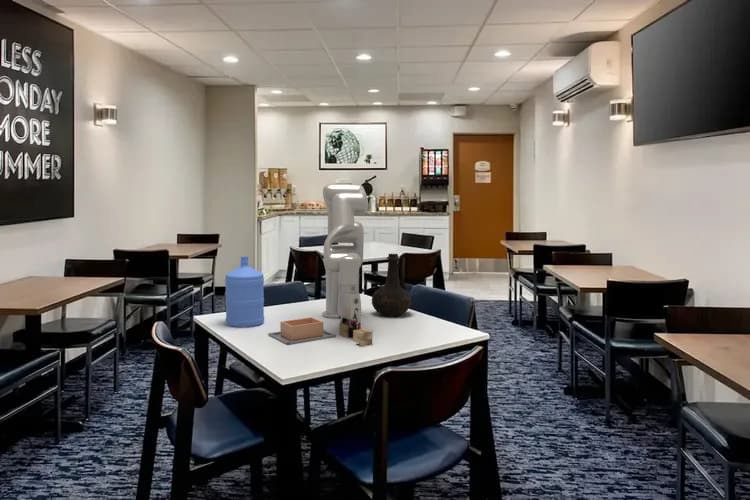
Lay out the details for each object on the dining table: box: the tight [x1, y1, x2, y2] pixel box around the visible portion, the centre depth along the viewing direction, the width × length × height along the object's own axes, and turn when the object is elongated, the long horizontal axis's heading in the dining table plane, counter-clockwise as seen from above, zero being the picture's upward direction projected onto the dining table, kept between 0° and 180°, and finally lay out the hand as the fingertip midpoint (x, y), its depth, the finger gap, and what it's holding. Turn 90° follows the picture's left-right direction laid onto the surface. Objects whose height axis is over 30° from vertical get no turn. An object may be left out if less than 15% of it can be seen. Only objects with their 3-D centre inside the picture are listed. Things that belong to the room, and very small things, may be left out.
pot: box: [279, 317, 325, 341], centre depth 200 cm, size 13×9×6 cm
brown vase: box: [371, 253, 412, 317], centre depth 242 cm, size 18×18×28 cm
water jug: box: [224, 256, 265, 328], centre depth 222 cm, size 16×16×28 cm
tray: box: [267, 329, 337, 346], centre depth 200 cm, size 20×16×2 cm
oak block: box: [352, 327, 373, 347], centre depth 194 cm, size 5×5×5 cm
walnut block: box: [338, 322, 358, 339], centre depth 202 cm, size 5×5×5 cm
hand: (348, 335), depth 202 cm, fingers closed on walnut block, 5 cm apart
